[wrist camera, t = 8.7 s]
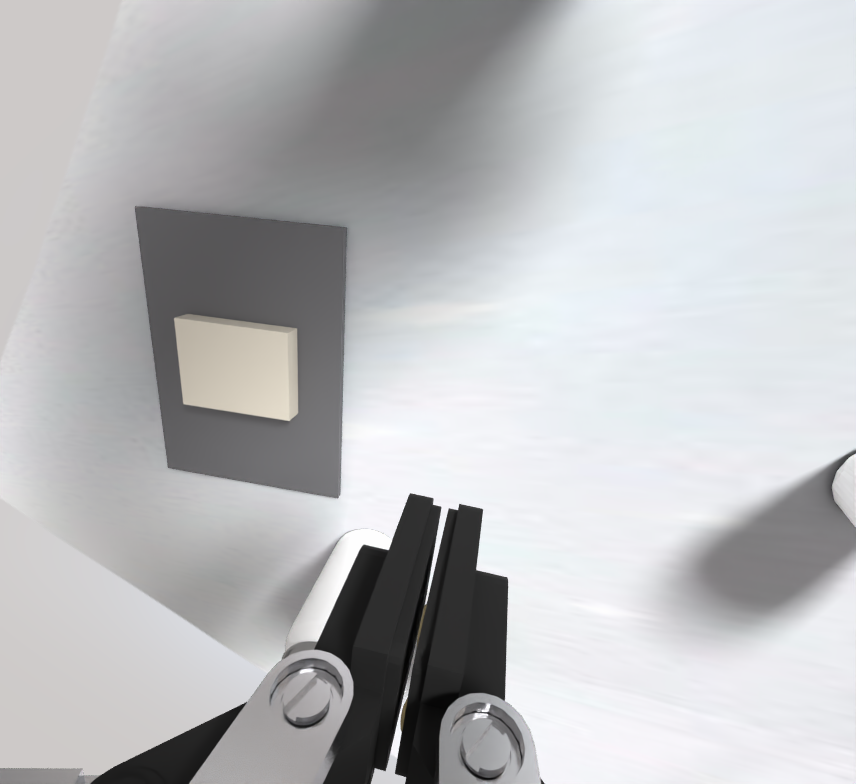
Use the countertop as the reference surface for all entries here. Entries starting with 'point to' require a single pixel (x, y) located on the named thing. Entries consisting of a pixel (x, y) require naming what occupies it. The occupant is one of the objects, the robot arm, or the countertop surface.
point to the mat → (259, 303)
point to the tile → (238, 366)
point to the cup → (846, 488)
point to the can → (329, 589)
